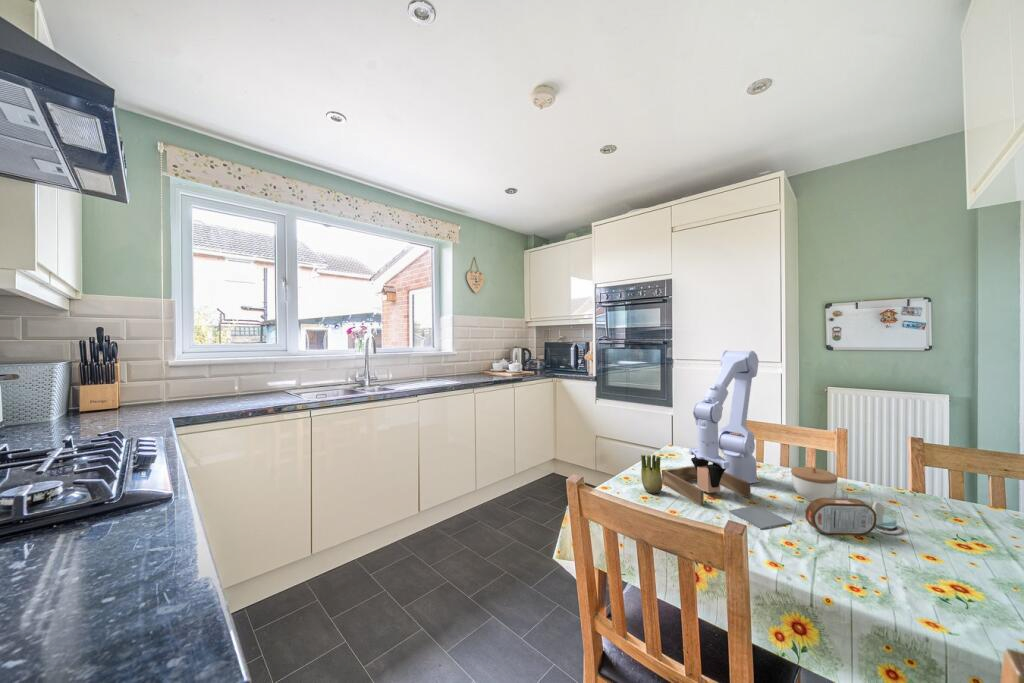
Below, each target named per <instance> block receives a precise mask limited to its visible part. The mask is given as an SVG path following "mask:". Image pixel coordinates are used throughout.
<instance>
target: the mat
mask: <svg viewBox="0 0 1024 683" xmlns="http://www.w3.org/2000/svg"><path fill="white" fill-rule="evenodd" d="M728 513H730V514H732V515H734V516H736V517H738V518H740V519H741V520H743V519H744V520H743V521H745V520H746V521H745V522H747V521H748V522H749V523H748V522H747V523H748V524H750V523H751V524H750V525H752V524H753V525H752V526H754V527H755V528H757V527H758V528H757V529H759V528H760V529H759V530H761V529H762V530H765V528H767V529H771V528H770V527H772V528H775V527H774V526H777V527H781V526H780V525H782V526H786V524H787V525H792V524H793V523H792V521H790V520H788V519H786V518H785V517H783V516H780V515H779V514H777V513H774V512H772V511H770V510H768V509H766V508H765V507H762V506H760V505H751V506H746V507H740V508H735V509H729V510H728ZM791 523H792V524H791Z"/></svg>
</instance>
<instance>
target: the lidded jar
mask: <svg viewBox="0 0 1024 683" xmlns="http://www.w3.org/2000/svg"><path fill="white" fill-rule="evenodd" d="M790 474H791V482H792V485H793V486H792V487H793V488H794V490H795V491H796V492H797V493H798V495H799V496H800V497H801V498H802V499H803V498H804V499H803V500H805V499H806V501H808V502H810V503H811V502H812V501H814V500H815V499H818V498H834V497H835V494H836V493H837V490H838V489H837V488H838V476H837V475H836V474H835V473H832V472H831V471H829V470H825V469H822V468H817V467H815V466H795V467H792V468H791V469H790Z"/></svg>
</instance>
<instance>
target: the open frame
mask: <svg viewBox="0 0 1024 683" xmlns="http://www.w3.org/2000/svg"><path fill="white" fill-rule="evenodd" d="M661 477H662V483H663V484H662V485H664V484H665V485H664V486H666V487H667V486H668V488H669V487H670V488H669V489H670V490H672V491H674V492H676V493H677V494H679V495H681V496H683V497H684V498H686V499H688V500H689V501H691V502H693V503H694V504H696V505H698V506H699V507H704V503H705V500H704V499H705V498H704V492H705V491H704V490H702V489H700V488H698V486H696V485H694V484H693V483H690V482H691V481H697V471H696V468H695V466H694V465H690V466H681V467H676V468H668V469H663V470H661ZM720 486H722V487H723V488H726V489H728V490H730V491H732V492H734V493H737V494H738V495H740V496H742V497H744V498H745V499H751V497H752V496H751V490H752V489H751V483H749V482H747V481H744V480H742V479H740V478H737V477H735V476H733V475H731V474H728V473H726V472H724V473H723V475H722V477H721V480H720Z"/></svg>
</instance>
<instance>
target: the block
mask: <svg viewBox="0 0 1024 683" xmlns="http://www.w3.org/2000/svg"><path fill="white" fill-rule="evenodd" d="M696 481H697V482H696V483H697V487H698V488H700V489H701V490H703V491H704V492H706V493H708V494H709V493H715V492H721V485H720V483H719V487H715V488H713V487H712V486H711V480H710V473H709V470H708V468H707V466H700V467H697V480H696Z"/></svg>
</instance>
